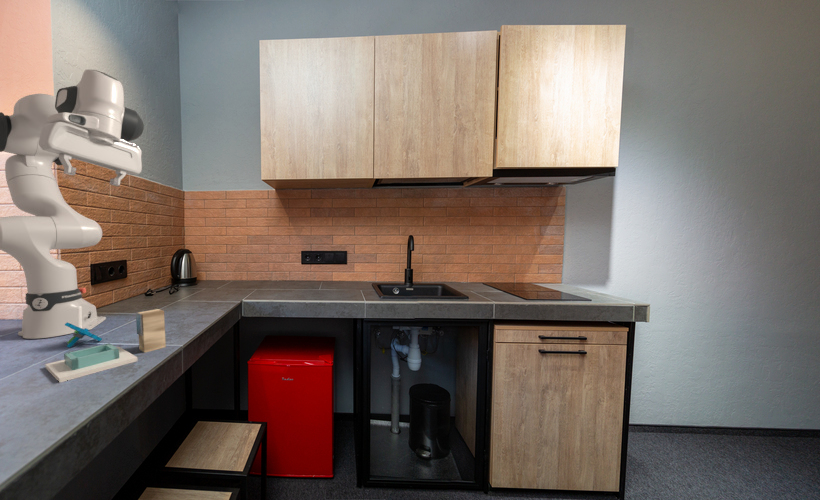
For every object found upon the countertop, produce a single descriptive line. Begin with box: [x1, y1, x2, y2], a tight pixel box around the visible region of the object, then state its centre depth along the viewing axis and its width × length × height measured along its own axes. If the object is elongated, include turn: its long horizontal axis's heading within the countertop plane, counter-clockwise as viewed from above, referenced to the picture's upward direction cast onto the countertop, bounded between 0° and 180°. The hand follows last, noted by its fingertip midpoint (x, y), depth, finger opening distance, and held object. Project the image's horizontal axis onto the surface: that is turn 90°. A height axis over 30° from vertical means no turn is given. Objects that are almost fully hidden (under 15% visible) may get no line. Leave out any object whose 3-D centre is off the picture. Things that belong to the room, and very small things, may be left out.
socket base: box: [44, 342, 139, 384], centre depth 80 cm, size 14×14×4 cm
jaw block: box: [135, 308, 167, 354], centre depth 91 cm, size 4×6×11 cm
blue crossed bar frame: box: [65, 322, 103, 349], centre depth 93 cm, size 11×6×10 cm
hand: (93, 180), depth 83 cm, fingers open, 8 cm apart
